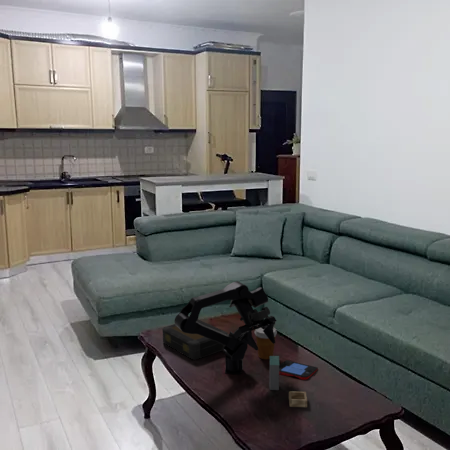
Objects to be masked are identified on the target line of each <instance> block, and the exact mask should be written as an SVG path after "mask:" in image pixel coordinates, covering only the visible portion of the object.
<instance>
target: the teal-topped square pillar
mask: <svg viewBox="0 0 450 450" xmlns="http://www.w3.org/2000/svg"><path fill="white" fill-rule="evenodd" d="M279 365H280V356H279V355H273V356H270V359H269V390H270V391H279V390H280V375H279Z"/></svg>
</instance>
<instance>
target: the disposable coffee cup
mask: <svg viewBox="0 0 450 450" xmlns="http://www.w3.org/2000/svg"><path fill="white" fill-rule="evenodd" d="M263 330H264V329H262V328H258V329H255V330H254V335H255V339H256V340H255V343H256V344H257V347H258V350H257V356H258V358H259V359H261V360H270V356H274V351H275V344H276V343H275V344H273V343H272V342H271V341H270V340H269V338H268V337H267V336H266V334H265V333H264V332H263ZM273 332H274V337H275V339H276V338H277V337H276V336H277V334H278V331H277V329H276V328H275V326H274V327H273Z"/></svg>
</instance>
